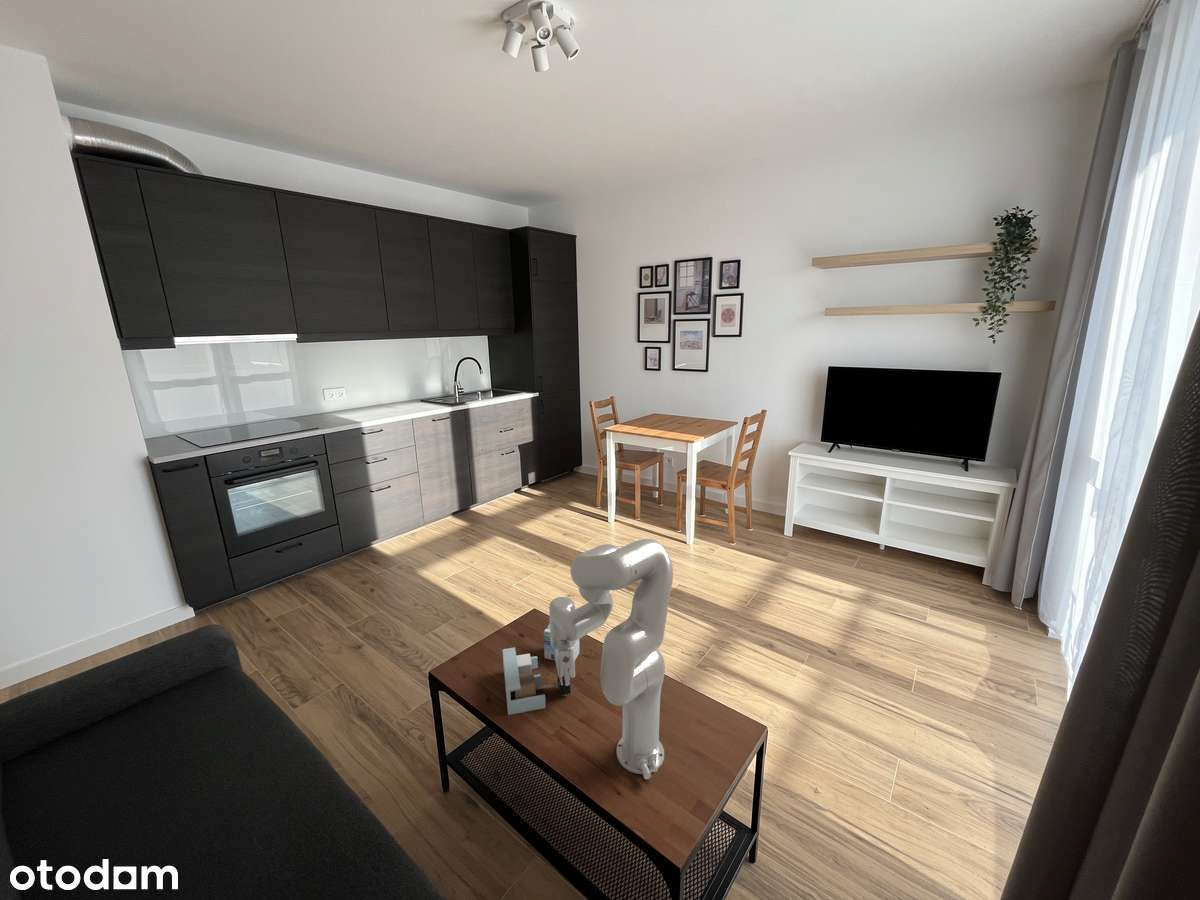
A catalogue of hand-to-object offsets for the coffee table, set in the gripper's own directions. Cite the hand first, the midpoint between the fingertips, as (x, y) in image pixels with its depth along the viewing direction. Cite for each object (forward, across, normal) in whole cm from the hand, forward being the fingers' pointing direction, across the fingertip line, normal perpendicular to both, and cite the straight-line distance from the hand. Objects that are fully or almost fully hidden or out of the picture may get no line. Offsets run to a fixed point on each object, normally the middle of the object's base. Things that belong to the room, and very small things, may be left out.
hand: (564, 689), depth 153 cm
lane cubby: (+1, +5, +12) cm, 12 cm away
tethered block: (+1, 0, +7) cm, 7 cm away
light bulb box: (+1, +18, -2) cm, 18 cm away
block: (+1, +10, +12) cm, 15 cm away
